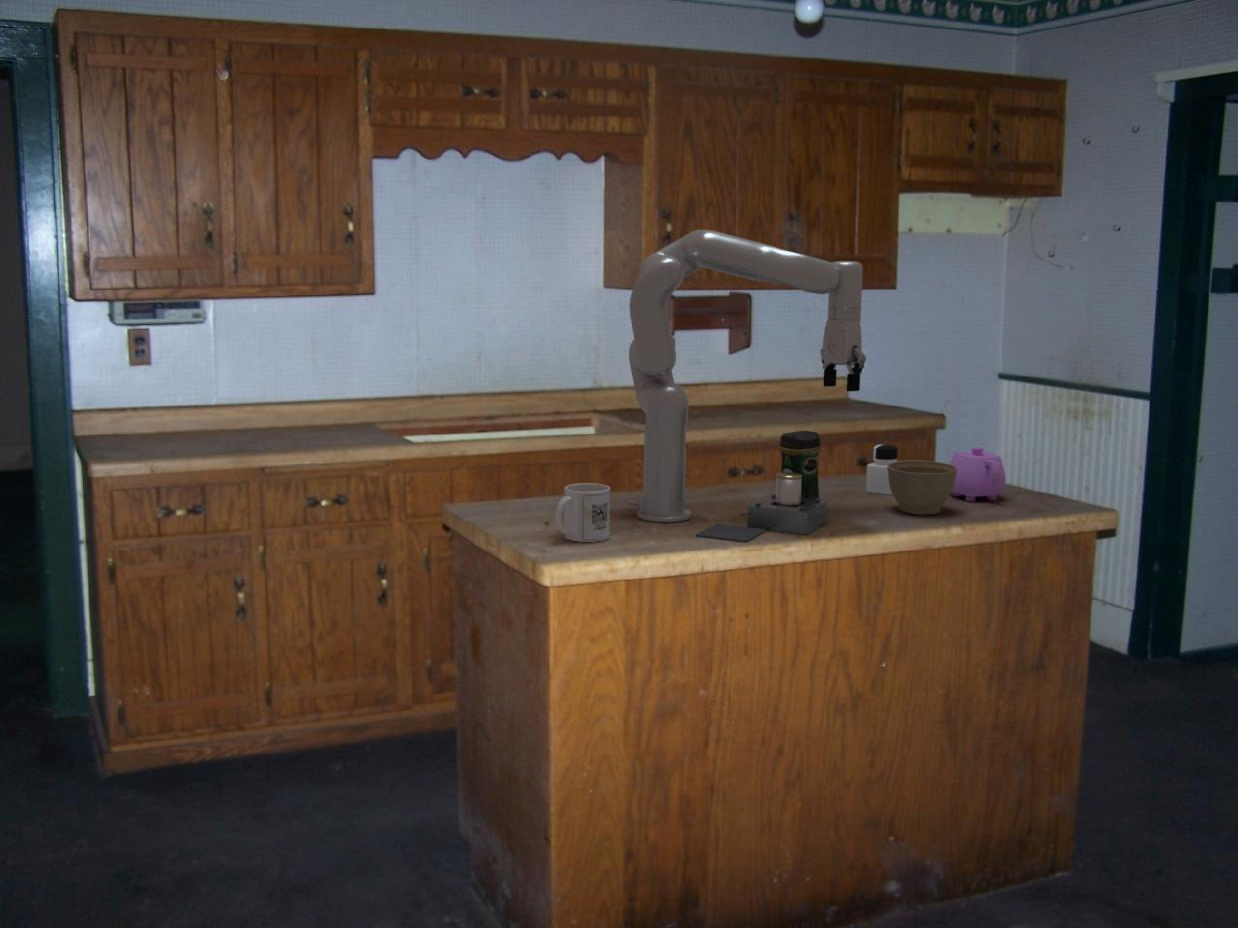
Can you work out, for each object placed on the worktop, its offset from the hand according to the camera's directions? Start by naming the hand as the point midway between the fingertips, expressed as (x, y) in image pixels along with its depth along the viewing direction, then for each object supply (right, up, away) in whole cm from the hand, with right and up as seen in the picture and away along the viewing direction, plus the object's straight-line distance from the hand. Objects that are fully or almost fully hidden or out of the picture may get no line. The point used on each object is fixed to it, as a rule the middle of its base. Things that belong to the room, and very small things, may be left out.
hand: (841, 388), depth 300 cm
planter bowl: (+20, -29, +6) cm, 36 cm away
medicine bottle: (+16, -25, +29) cm, 41 cm away
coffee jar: (-9, -28, +9) cm, 31 cm away
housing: (-14, -31, -9) cm, 36 cm away
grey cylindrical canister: (-14, -31, -9) cm, 36 cm away
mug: (-60, -34, -23) cm, 72 cm away
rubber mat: (-27, -33, -18) cm, 46 cm away
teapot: (+37, -26, +23) cm, 51 cm away
